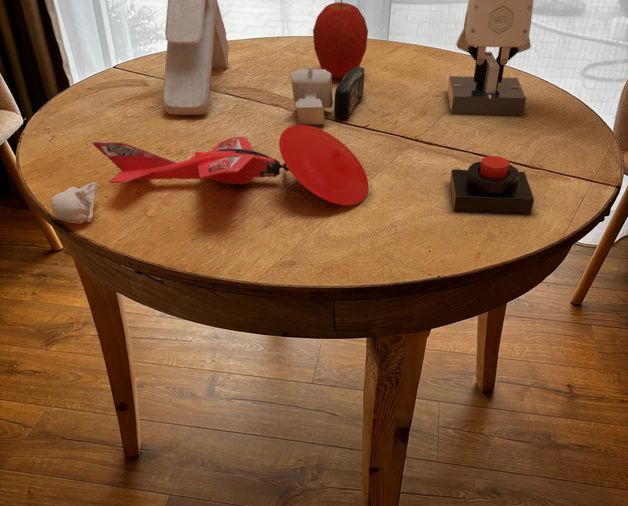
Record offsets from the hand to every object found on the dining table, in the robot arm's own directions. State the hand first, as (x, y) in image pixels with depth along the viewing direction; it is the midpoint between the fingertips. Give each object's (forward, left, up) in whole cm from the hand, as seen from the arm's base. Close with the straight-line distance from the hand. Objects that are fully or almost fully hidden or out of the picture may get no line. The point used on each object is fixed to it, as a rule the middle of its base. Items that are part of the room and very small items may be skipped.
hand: (486, 85), depth 116 cm
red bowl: (+25, +35, +1) cm, 43 cm away
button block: (+3, +35, -3) cm, 35 cm away
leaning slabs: (+51, -4, -3) cm, 51 cm away
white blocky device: (+29, +5, +2) cm, 30 cm away
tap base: (0, 0, -3) cm, 3 cm away
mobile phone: (+23, +2, -3) cm, 24 cm away
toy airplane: (+43, +35, -3) cm, 56 cm away
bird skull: (+56, +43, -3) cm, 71 cm away
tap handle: (0, 0, 0) cm, 0 cm away
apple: (+26, -12, -3) cm, 29 cm away
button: (+3, +35, 0) cm, 35 cm away
